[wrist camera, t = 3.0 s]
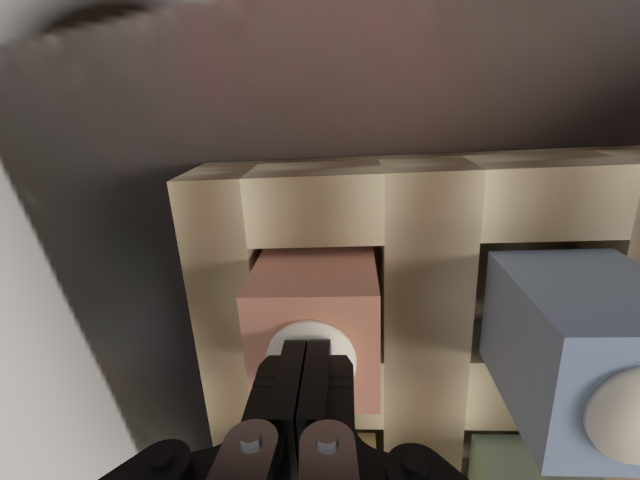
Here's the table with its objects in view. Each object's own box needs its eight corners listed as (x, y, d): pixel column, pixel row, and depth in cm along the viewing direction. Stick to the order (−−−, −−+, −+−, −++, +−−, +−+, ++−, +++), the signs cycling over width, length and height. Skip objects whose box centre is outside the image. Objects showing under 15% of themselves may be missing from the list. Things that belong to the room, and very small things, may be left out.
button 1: (371, 234, 19) (381, 300, 13) (371, 323, 20) (381, 420, 14) (269, 236, 19) (233, 302, 13) (278, 324, 20) (249, 419, 15)
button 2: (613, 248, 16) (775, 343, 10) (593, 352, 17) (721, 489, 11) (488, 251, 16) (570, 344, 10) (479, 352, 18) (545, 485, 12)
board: (644, 144, 18) (733, 160, 14) (574, 481, 25) (620, 560, 21) (205, 162, 20) (166, 181, 16) (249, 475, 27) (230, 547, 22)
